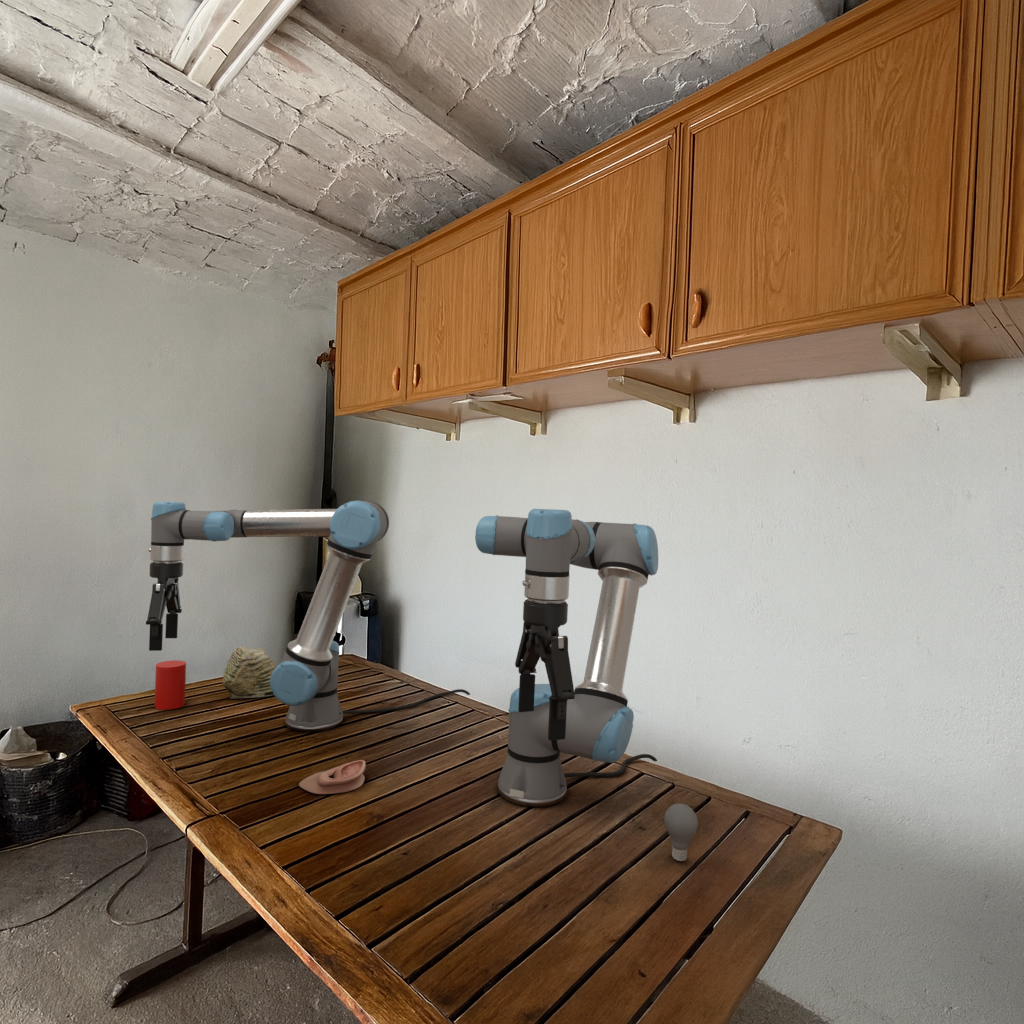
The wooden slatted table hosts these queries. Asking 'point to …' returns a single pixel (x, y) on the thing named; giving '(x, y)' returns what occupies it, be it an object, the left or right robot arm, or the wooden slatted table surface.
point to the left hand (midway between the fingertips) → (163, 644)
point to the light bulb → (680, 828)
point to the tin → (170, 684)
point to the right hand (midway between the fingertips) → (540, 724)
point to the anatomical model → (336, 779)
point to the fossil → (248, 673)
